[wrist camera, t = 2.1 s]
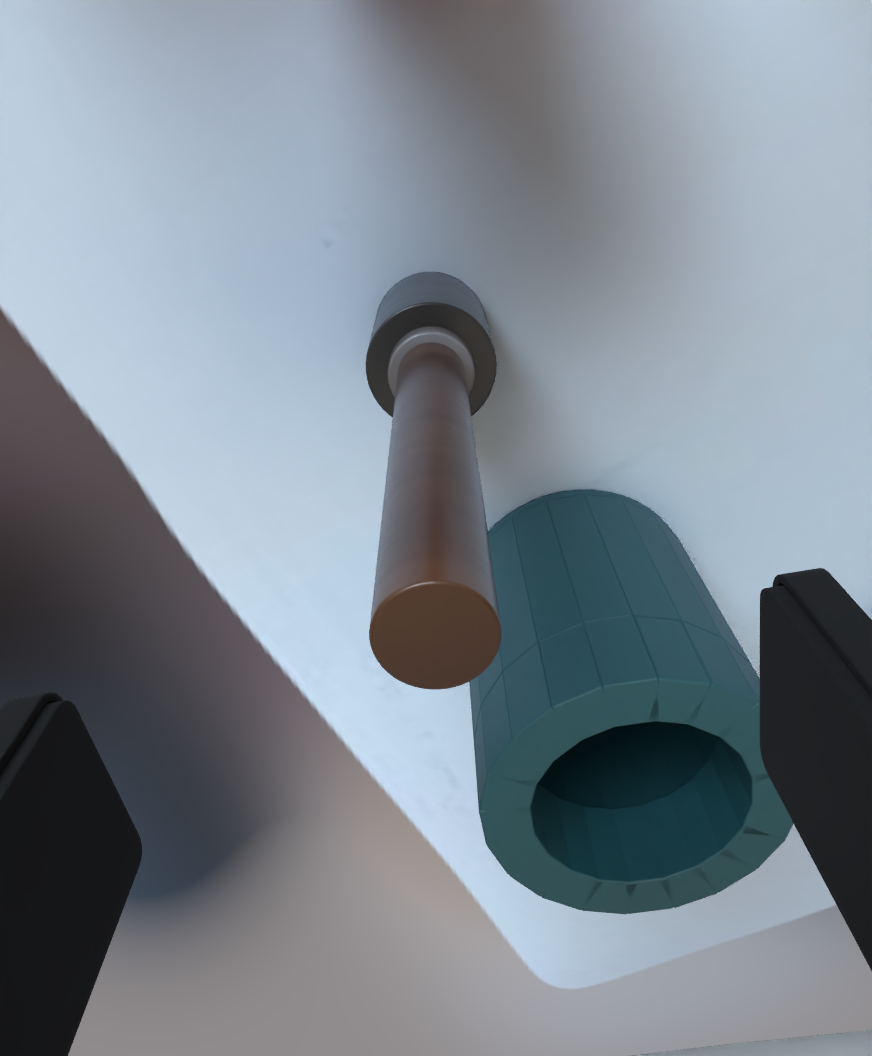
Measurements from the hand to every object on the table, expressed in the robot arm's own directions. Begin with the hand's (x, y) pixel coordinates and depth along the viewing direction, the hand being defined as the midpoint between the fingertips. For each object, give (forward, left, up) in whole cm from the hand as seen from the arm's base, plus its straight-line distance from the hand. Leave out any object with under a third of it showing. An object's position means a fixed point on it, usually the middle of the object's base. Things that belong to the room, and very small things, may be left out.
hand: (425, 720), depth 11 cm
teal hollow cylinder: (+12, +4, -21) cm, 24 cm away
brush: (0, 0, -21) cm, 21 cm away
